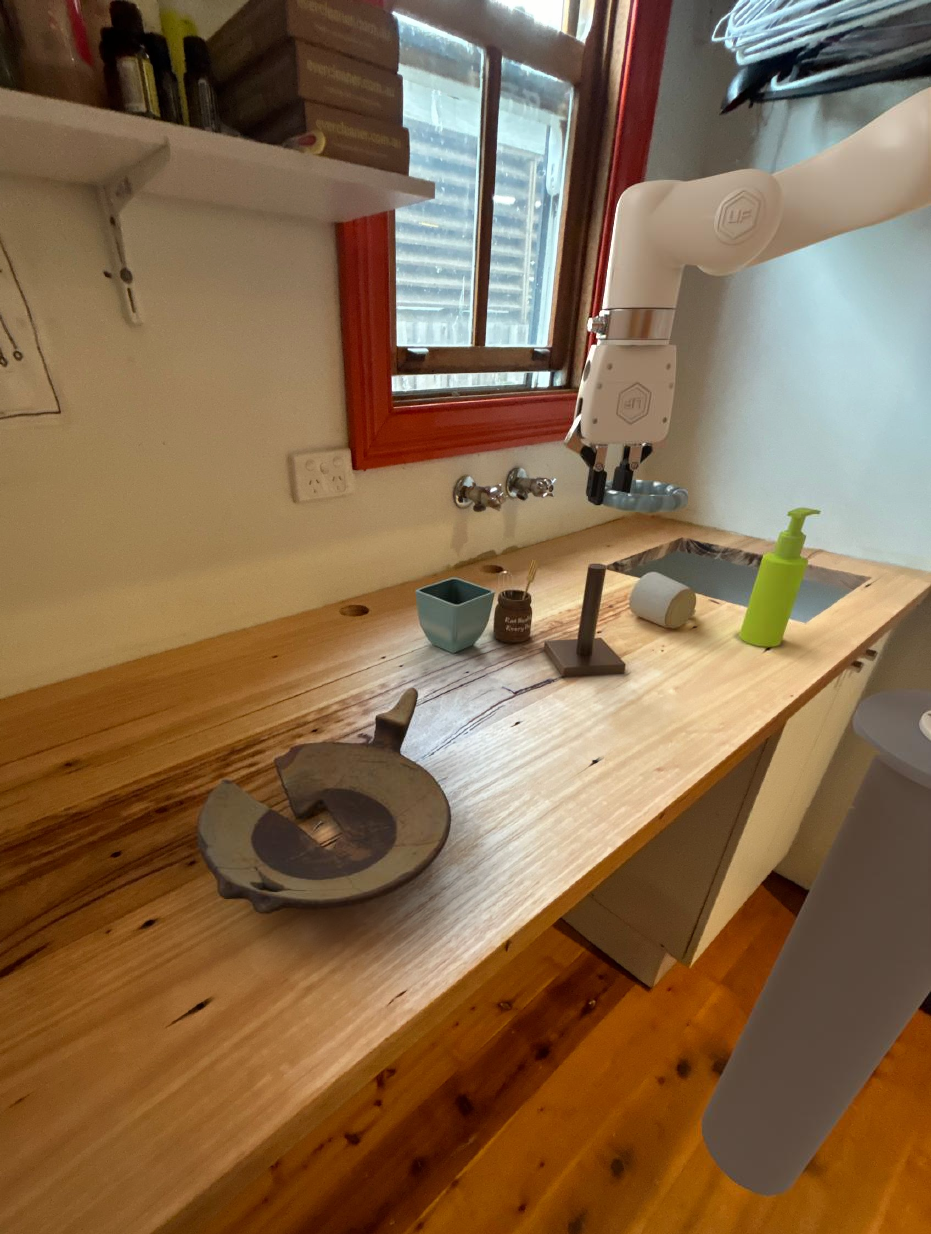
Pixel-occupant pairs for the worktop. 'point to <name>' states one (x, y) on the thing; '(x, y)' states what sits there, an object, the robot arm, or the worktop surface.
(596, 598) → the peg stand
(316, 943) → the worktop surface
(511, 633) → the utensil holder
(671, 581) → the ceramic mug
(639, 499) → the ring
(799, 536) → the soap dispenser
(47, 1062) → the worktop surface
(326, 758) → the oil lamp
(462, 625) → the flower pot
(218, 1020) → the worktop surface
